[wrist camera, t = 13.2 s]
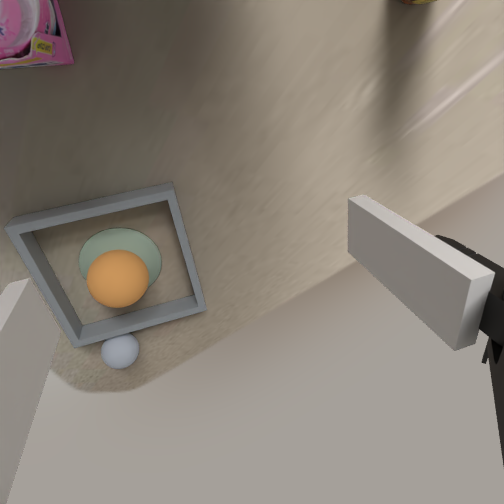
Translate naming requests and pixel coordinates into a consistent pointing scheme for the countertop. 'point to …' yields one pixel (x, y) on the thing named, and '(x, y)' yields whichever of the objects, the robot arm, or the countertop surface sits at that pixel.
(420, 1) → the sauce bottle
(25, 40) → the gum box
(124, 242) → the pad
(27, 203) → the countertop surface
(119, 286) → the ball
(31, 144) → the countertop surface
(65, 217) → the corral
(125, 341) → the grey ball
